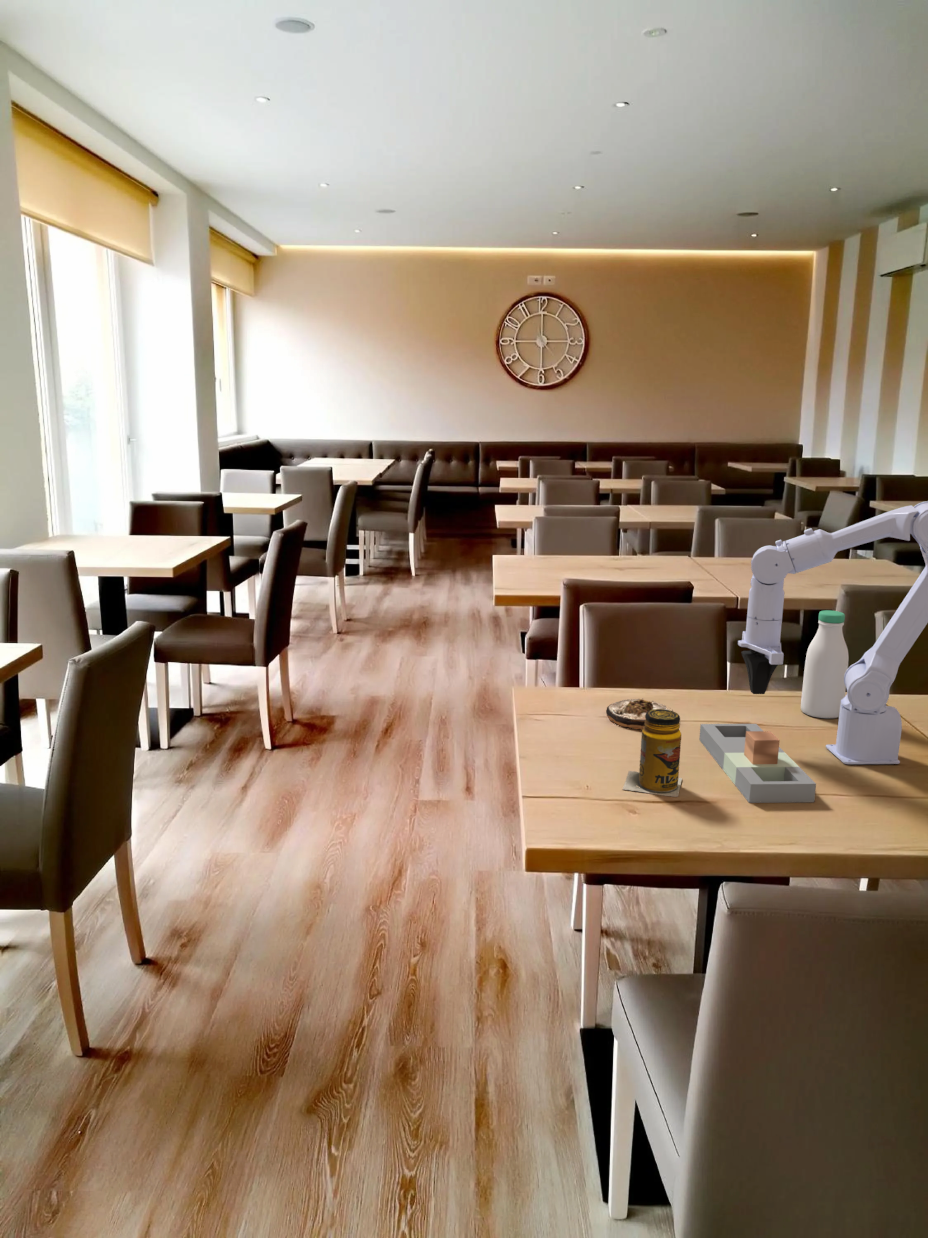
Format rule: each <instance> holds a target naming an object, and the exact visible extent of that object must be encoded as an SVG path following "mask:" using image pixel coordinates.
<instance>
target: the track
mask: <svg viewBox="0 0 928 1238" xmlns="http://www.w3.org/2000/svg"><path fill="white" fill-rule="evenodd" d="M746 731H764V730H763V729H762V728H761V726H759V725H758V724H757V723H700V729H699V742H700V743H701V744H702V745H703V746H704V748H705V749H706V751H708V753H709V754H710V756H711V757H712V758H713V759H714V760H715V761H716V763H717V765H719V767H720V768H721V770H723V772H724V773H725V774H726V776H727V777H728V778H729V779H730V781H731V782H732V783H733V784H734V785H735V787H736V788H737V789H738V791H739V792H740V793H741V795H742V796H743V797H744V798H745V800H746V801H747V802H748V803H749V804H753V803H754V804H756V803H758V804H759V803H760V804H761V803H770V804H771V803H773V804H774V803H815V798H816V788H817V783H816V782H815V781H814V780H813V779H812V778H811V777H810V776H809V774H807V773H806V772H805V771H804V770H803V769H802V768H801V767H800V766H799V765H798V764H797V763H796V762H795V761H794V760H793V759H792V758H791V757H790V756H789V755H788V754H787V753H786V752H785V751H784V750H783V749H782V748H781V747H780V746H779V752H778V762H777V764H752V763H751V762H750V761H749V760H748V759H747V757H746V756H745V755H744V749H745V738H746Z"/></svg>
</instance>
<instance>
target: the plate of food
mask: <svg viewBox="0 0 928 1238" xmlns="http://www.w3.org/2000/svg"><path fill="white" fill-rule="evenodd" d="M654 709H666V710H671V708H669V707H667V705H665V704H663V703H660V702H657V701H654V700H651V701H650V700H645V699H644V698H637V699H636V698H635V699H632V698H630V699H623V700H620V701H616V702H612V703H611V704H609V705H608V706H607V707H606V709H605V713H606V715H607V717H608V719H609V720H610V722H612V721H614V722H613V724H614V723H615V724H616V726H617V725H619V726H618V727H620V726H622V727H621V728H624V729H627V728H629V729H630V730H636V731H642V730H643V728H644V727H645V720H646V718H645V715H646V713H647V712H648V711H650V710H654ZM671 711H673V712H674V710H673V709H672V710H671ZM615 724H614V725H615ZM629 729H628V730H629Z"/></svg>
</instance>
